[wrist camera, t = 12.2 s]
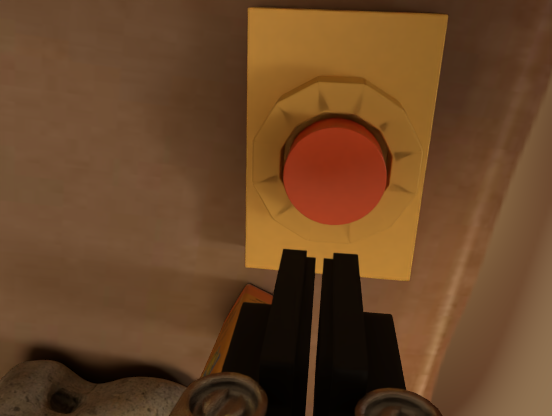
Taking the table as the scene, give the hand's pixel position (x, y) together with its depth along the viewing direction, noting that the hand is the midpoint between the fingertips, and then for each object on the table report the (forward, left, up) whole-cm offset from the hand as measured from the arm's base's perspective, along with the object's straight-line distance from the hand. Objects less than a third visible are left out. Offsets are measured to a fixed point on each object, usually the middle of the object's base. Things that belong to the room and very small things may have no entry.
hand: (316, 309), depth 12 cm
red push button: (0, 0, -11) cm, 11 cm away
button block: (0, 0, -14) cm, 14 cm away
